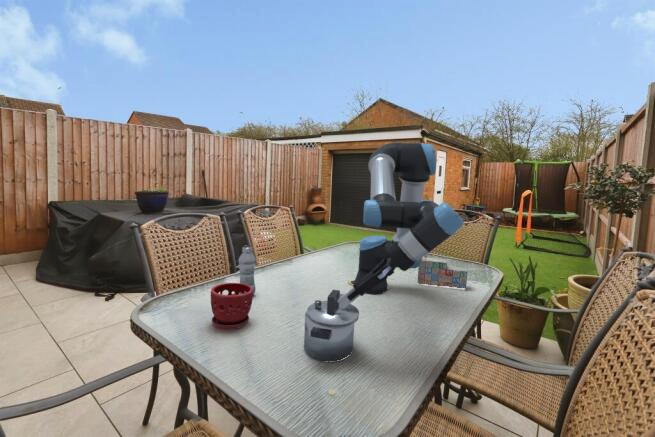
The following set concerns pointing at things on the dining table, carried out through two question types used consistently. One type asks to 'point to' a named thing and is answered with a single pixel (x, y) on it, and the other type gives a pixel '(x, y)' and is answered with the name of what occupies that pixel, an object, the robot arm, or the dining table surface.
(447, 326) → the dining table surface
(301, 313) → the dining table surface
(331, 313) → the lid
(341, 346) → the pot
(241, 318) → the plant pot
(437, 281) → the stack of blocks
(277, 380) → the dining table surface
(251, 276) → the plastic bottle
